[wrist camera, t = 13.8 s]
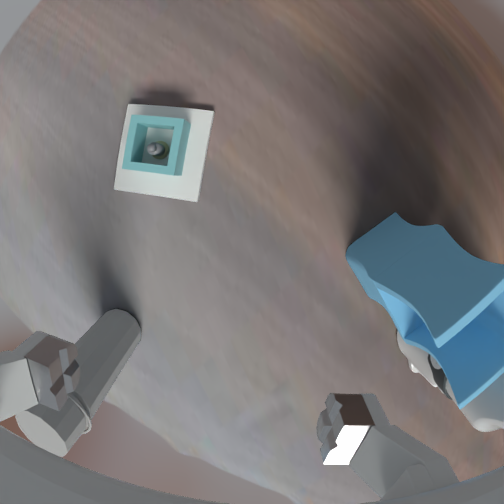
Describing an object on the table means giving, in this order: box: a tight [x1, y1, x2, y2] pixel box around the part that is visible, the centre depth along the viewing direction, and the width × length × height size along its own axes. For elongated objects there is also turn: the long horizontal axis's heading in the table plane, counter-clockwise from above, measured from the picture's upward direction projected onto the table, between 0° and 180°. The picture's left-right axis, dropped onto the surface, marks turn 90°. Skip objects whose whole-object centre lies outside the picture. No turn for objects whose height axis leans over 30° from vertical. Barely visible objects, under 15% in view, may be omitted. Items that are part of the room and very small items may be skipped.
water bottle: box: [15, 309, 141, 457], centre depth 33 cm, size 9×8×25 cm
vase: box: [346, 212, 504, 409], centre depth 30 cm, size 10×10×25 cm
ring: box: [122, 115, 191, 176], centre depth 35 cm, size 7×7×4 cm
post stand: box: [114, 104, 215, 202], centre depth 36 cm, size 12×12×5 cm
